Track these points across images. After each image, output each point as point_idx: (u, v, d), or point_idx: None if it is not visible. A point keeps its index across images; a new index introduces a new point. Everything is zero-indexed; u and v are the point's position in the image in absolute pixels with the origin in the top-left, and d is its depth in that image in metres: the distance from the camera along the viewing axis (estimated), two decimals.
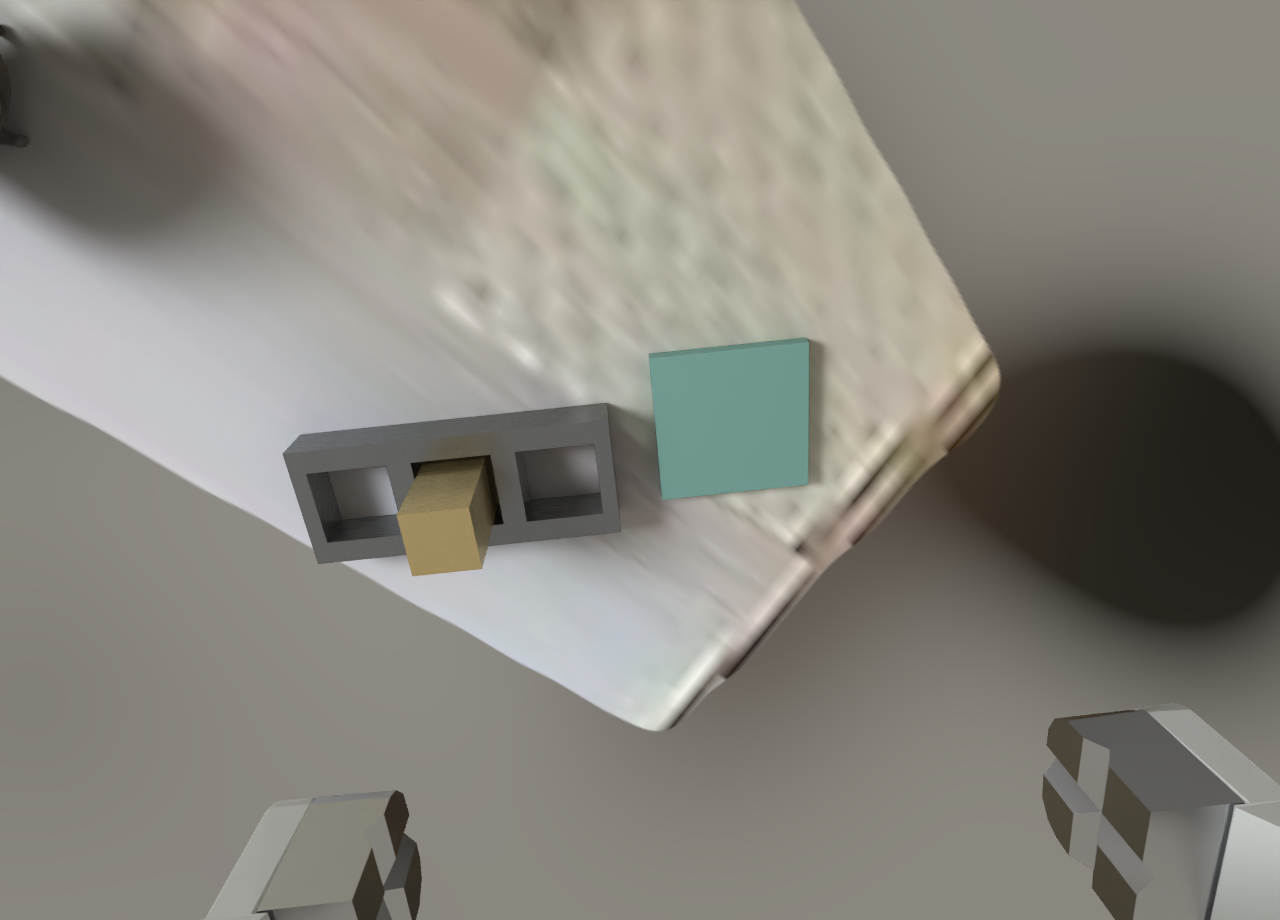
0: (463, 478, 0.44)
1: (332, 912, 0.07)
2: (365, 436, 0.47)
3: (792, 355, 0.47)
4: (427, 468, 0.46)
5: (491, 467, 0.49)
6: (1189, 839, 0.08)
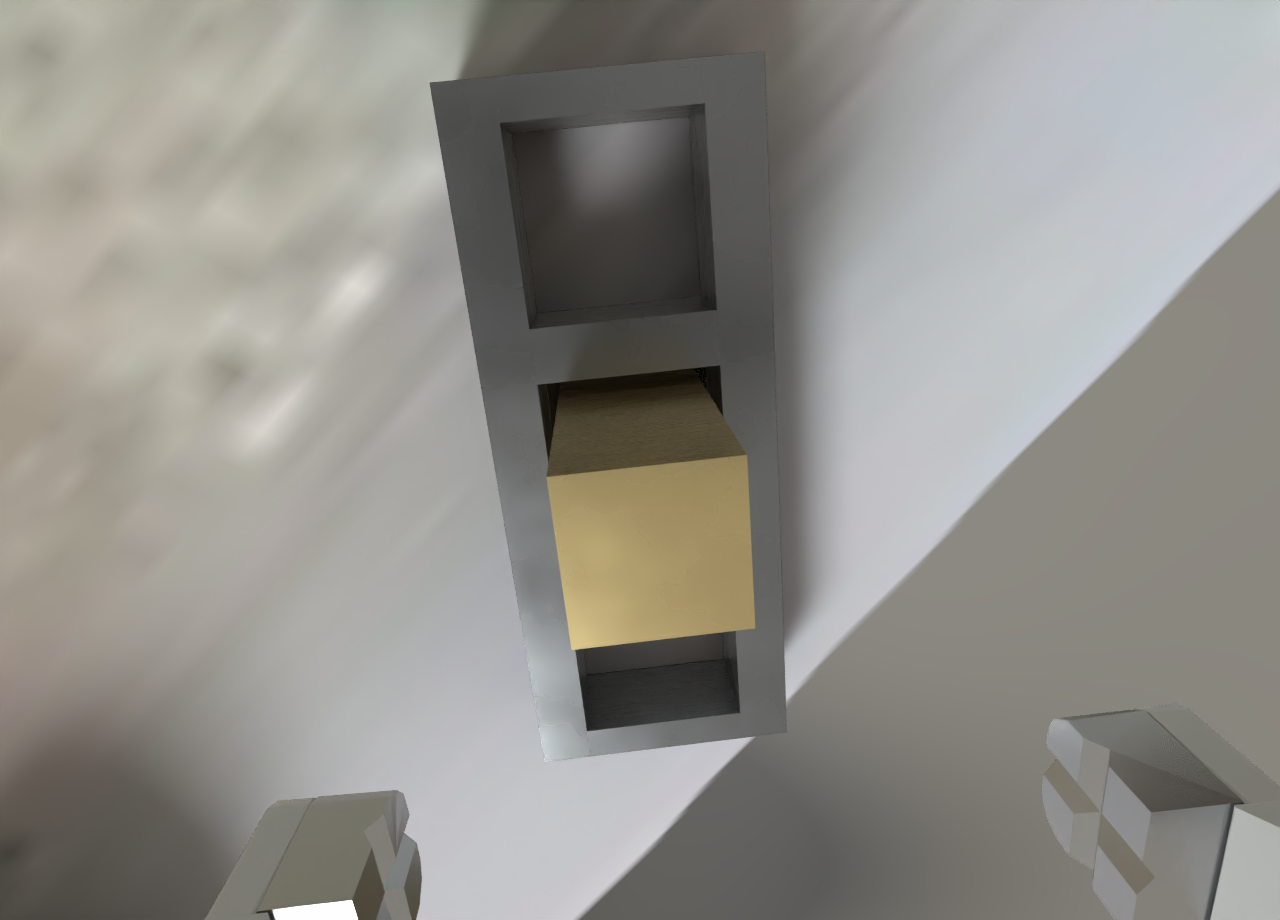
0: None
1: (332, 913, 0.07)
2: None
3: None
4: None
5: (603, 379, 0.22)
6: (1189, 839, 0.08)
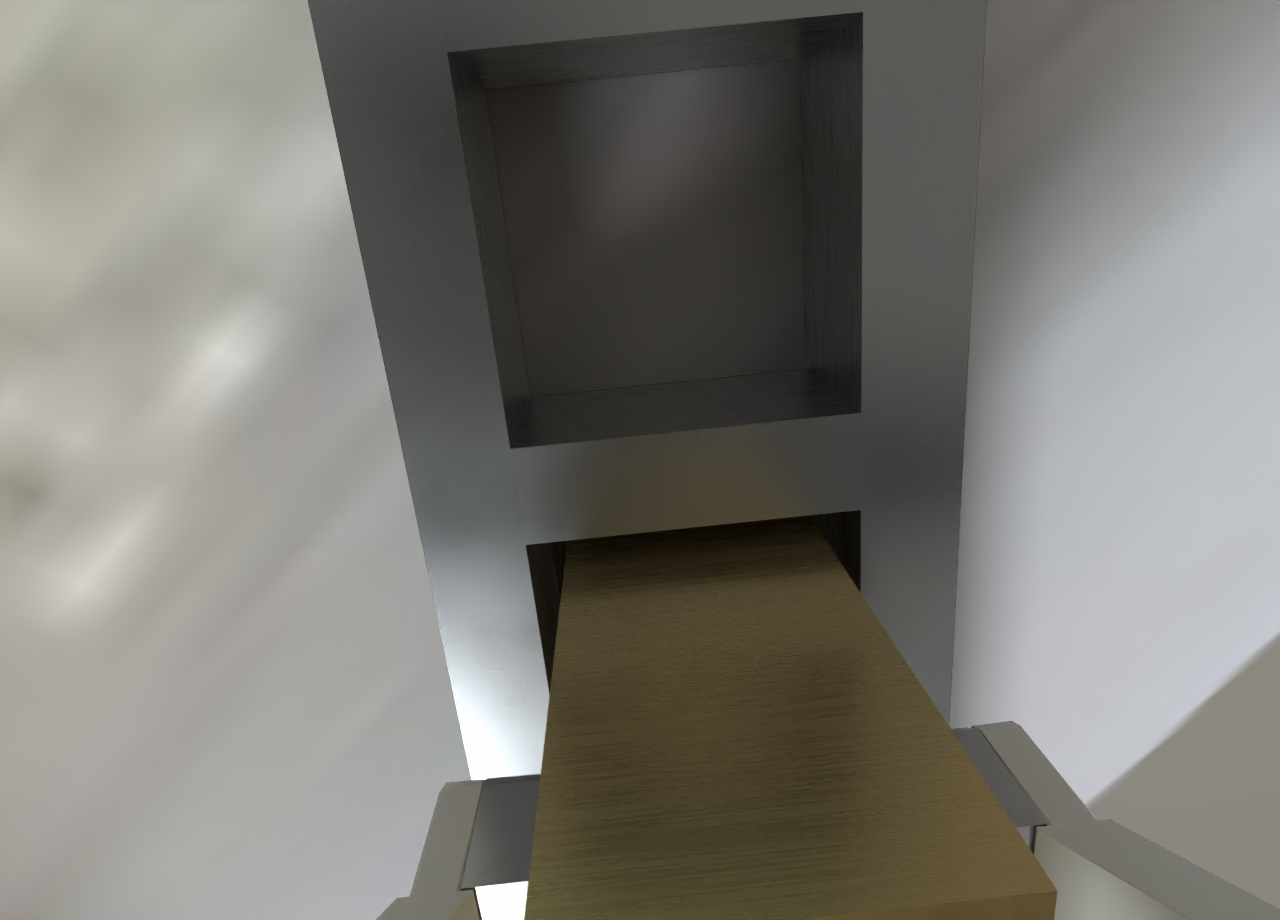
0: None
1: None
2: None
3: None
4: None
5: None
6: None
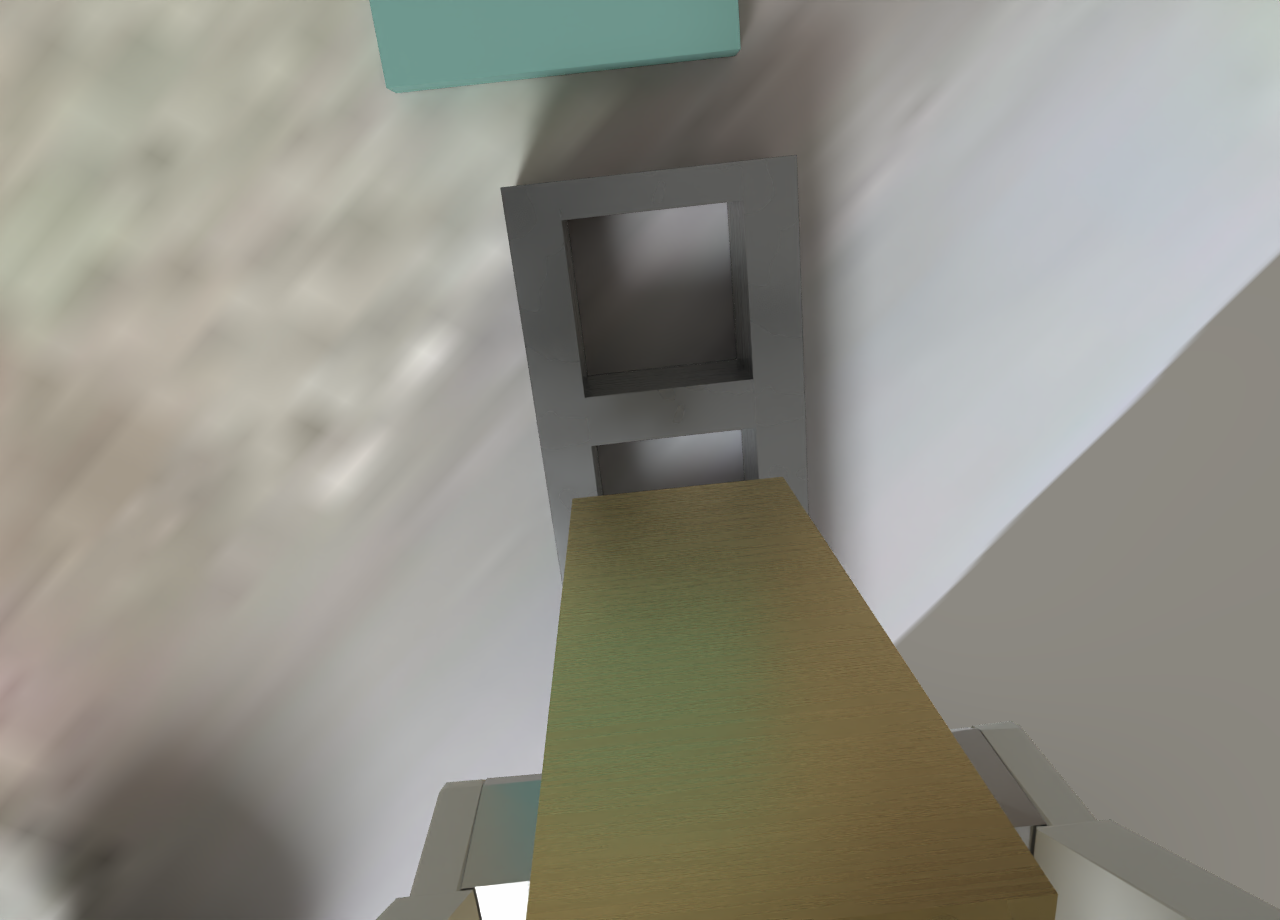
0: None
1: None
2: None
3: None
4: None
5: (642, 513, 0.13)
6: None
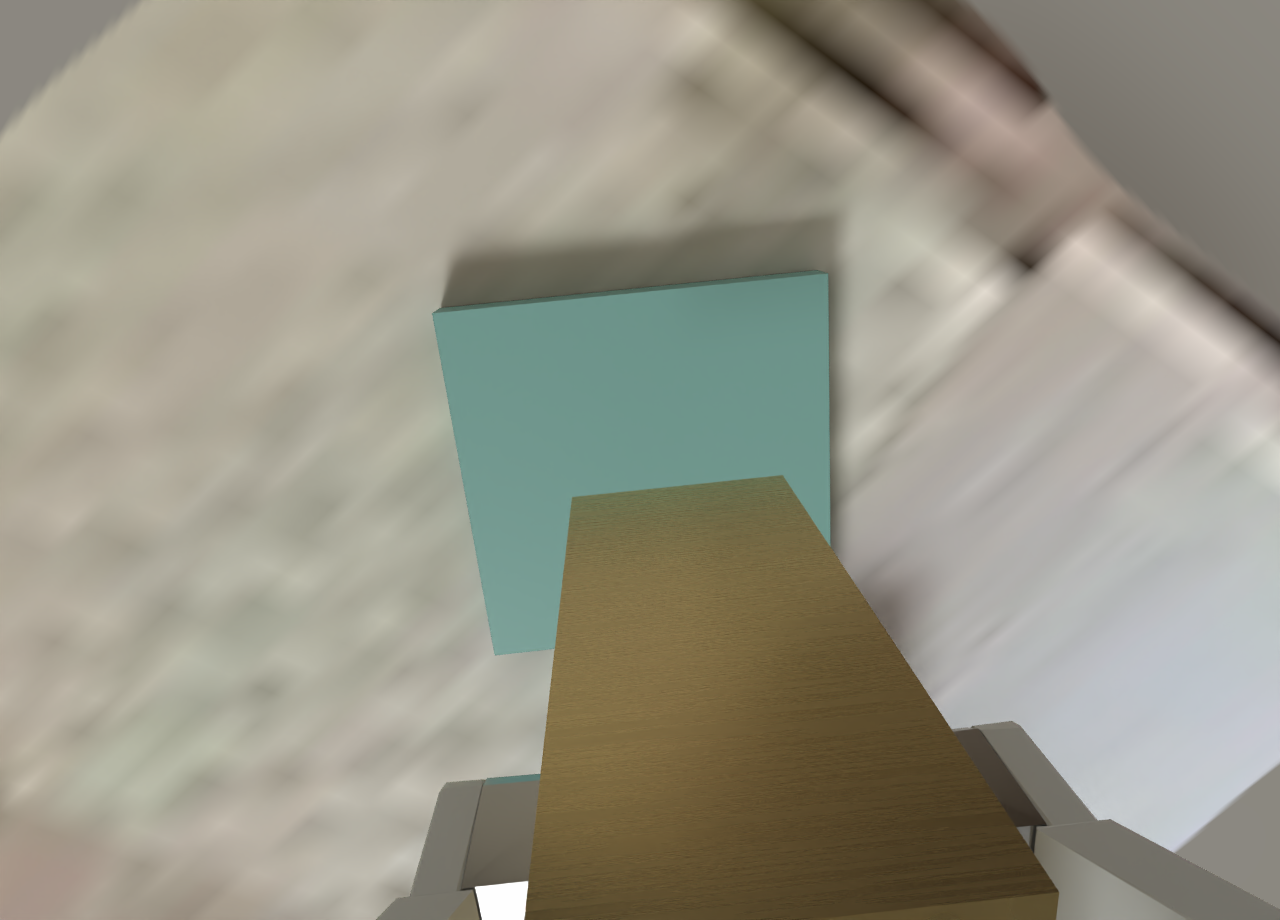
0: None
1: None
2: None
3: (469, 351, 0.19)
4: None
5: (641, 511, 0.13)
6: None
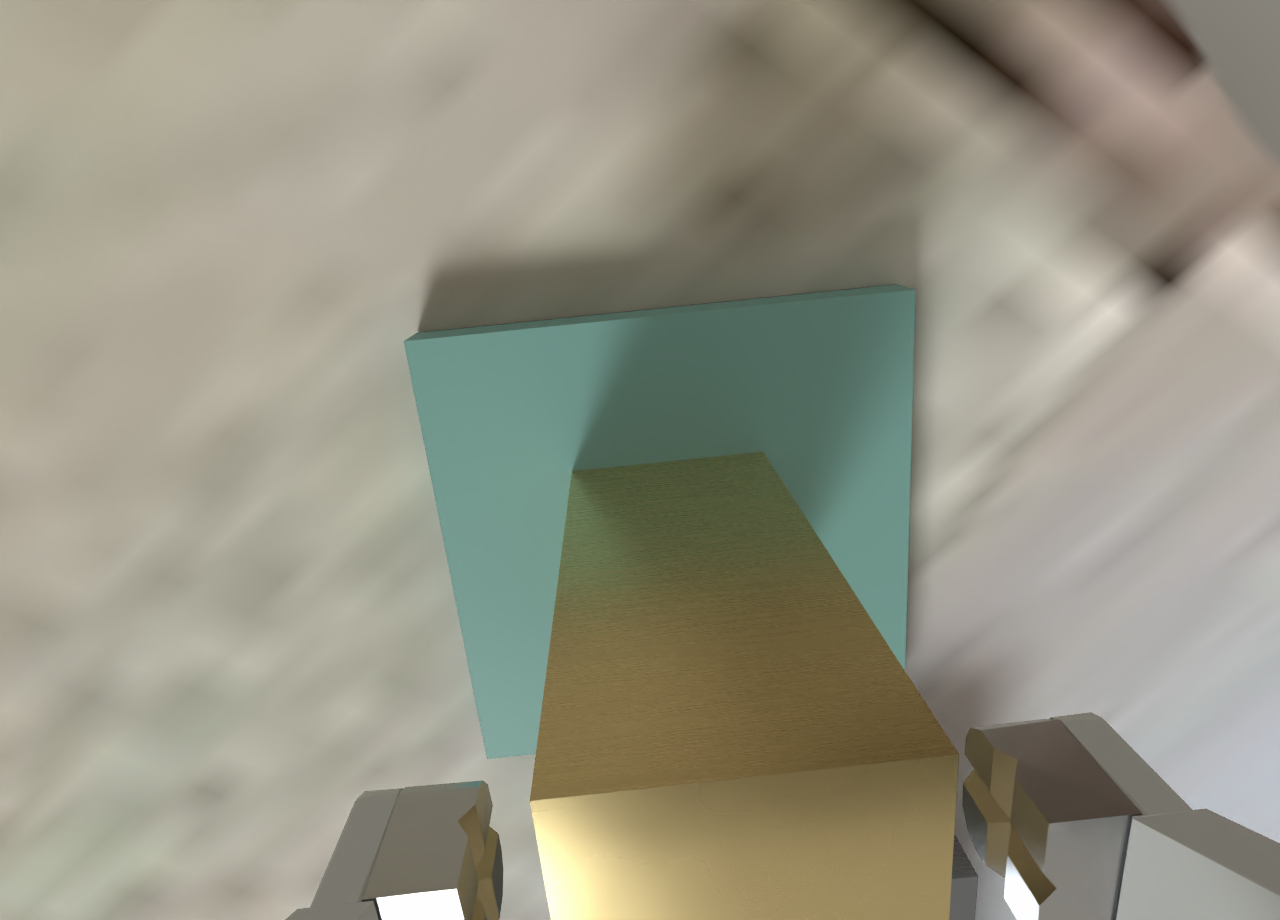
0: None
1: (436, 901, 0.07)
2: None
3: (452, 389, 0.15)
4: None
5: (634, 482, 0.14)
6: (1089, 850, 0.08)
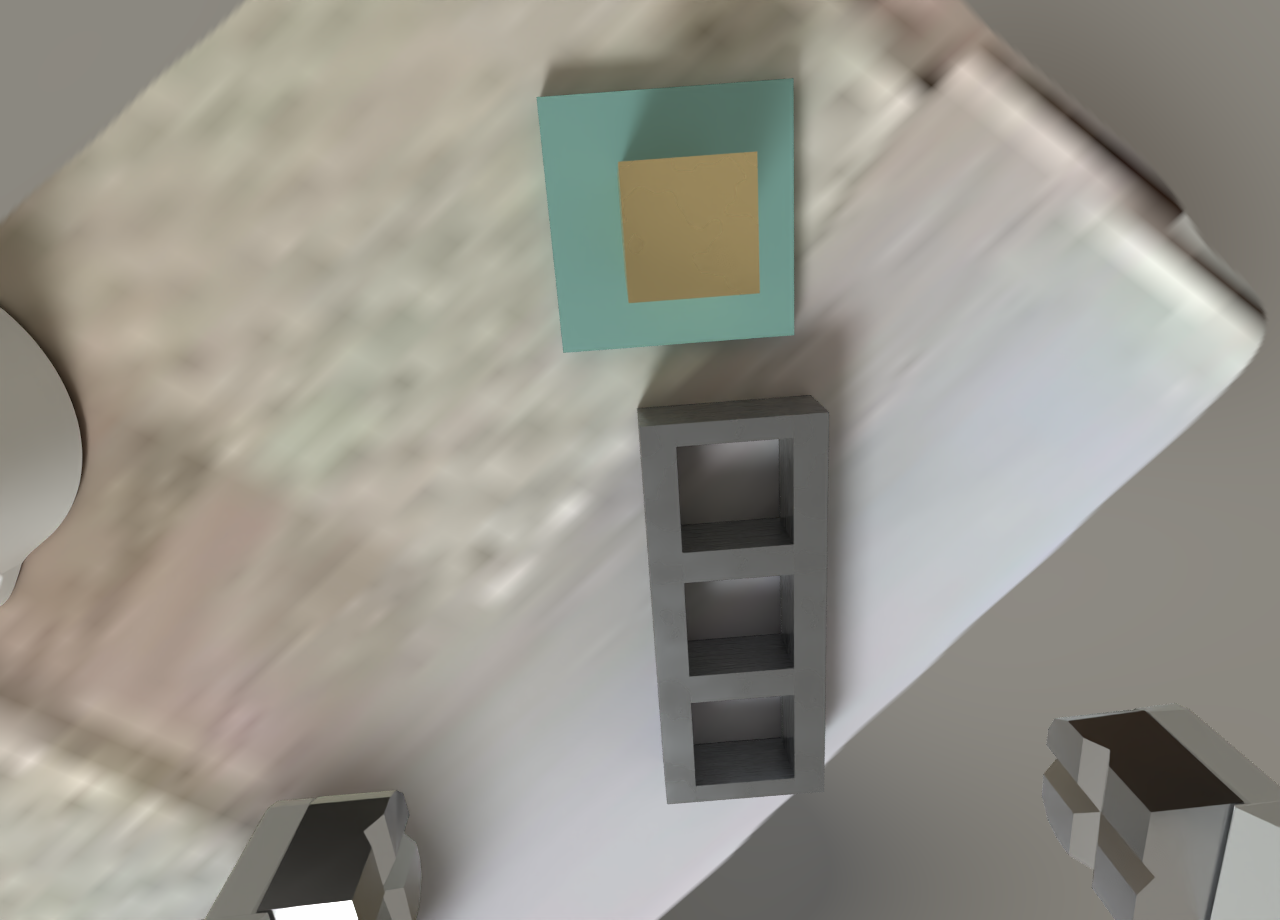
0: None
1: (332, 912, 0.07)
2: None
3: (559, 125, 0.29)
4: None
5: None
6: (1189, 839, 0.08)
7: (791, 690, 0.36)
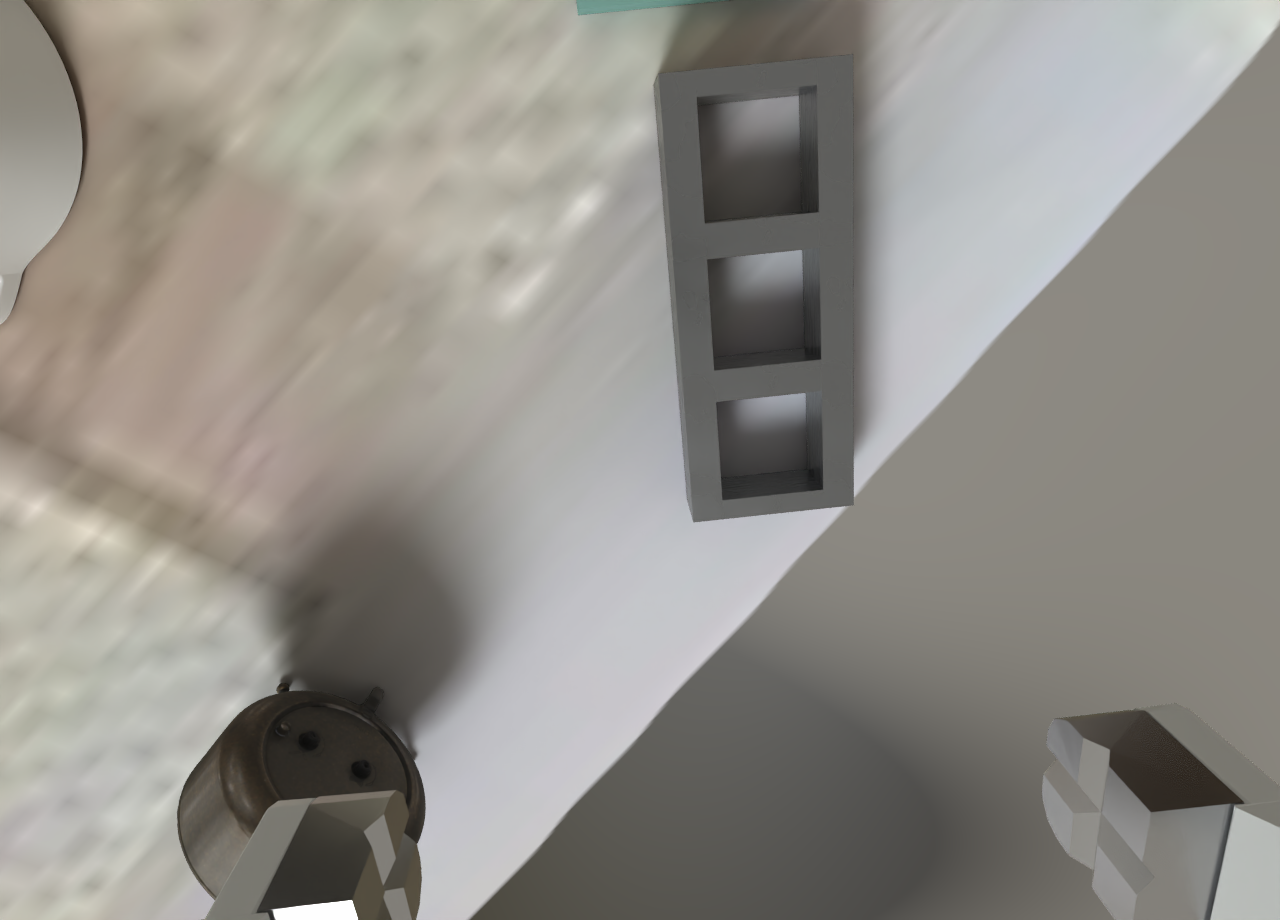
0: None
1: (332, 913, 0.07)
2: (683, 423, 0.36)
3: None
4: None
5: None
6: (1189, 839, 0.08)
7: (818, 385, 0.35)
